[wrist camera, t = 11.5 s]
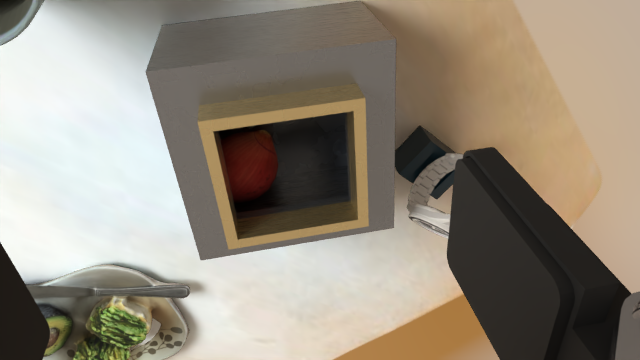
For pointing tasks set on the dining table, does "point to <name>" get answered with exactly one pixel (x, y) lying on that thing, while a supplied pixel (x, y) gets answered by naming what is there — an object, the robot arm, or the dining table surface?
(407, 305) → the dining table surface
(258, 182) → the onion
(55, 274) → the dining table surface
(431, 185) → the watch
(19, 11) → the grey-green pot
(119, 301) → the salad plate
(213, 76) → the housing
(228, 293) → the dining table surface
